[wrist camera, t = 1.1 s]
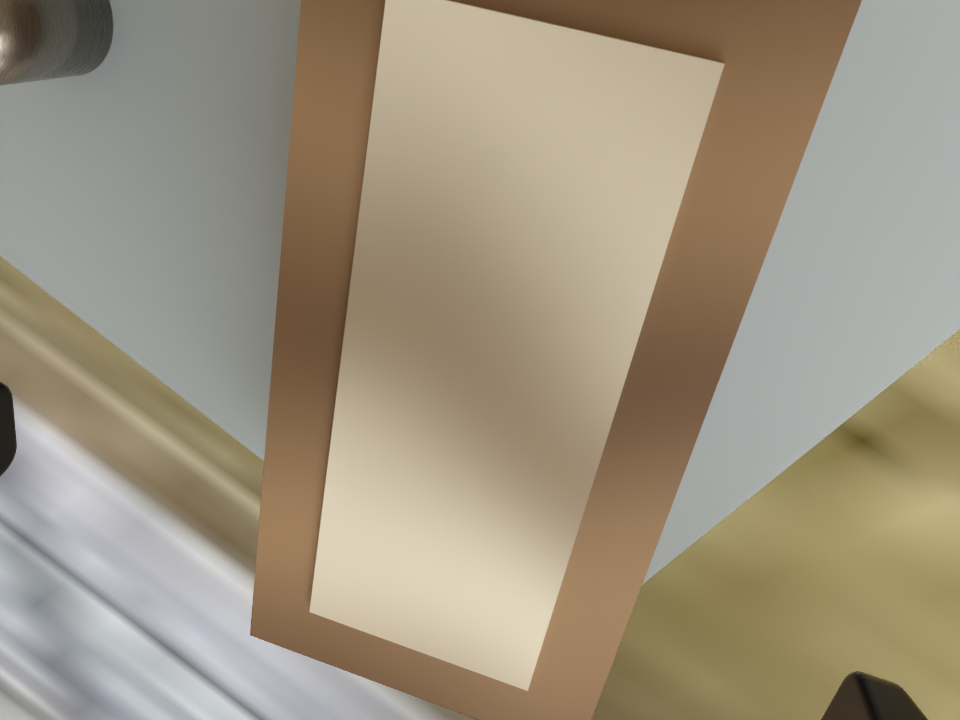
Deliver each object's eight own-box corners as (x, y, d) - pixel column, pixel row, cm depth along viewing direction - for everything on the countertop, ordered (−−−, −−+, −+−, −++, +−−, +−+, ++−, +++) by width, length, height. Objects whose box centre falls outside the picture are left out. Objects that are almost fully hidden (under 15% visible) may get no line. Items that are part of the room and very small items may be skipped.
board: (540, 648, 20) (534, 671, 19) (-40, 194, 19) (-69, 202, 18) (1636, -254, 10) (1707, -274, 9) (484, -1347, 9) (465, -1466, 8)
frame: (612, 567, 18) (576, 764, 13) (360, 483, 19) (245, 641, 14) (819, -27, 12) (880, -41, 8) (448, -104, 13) (307, -157, 9)
